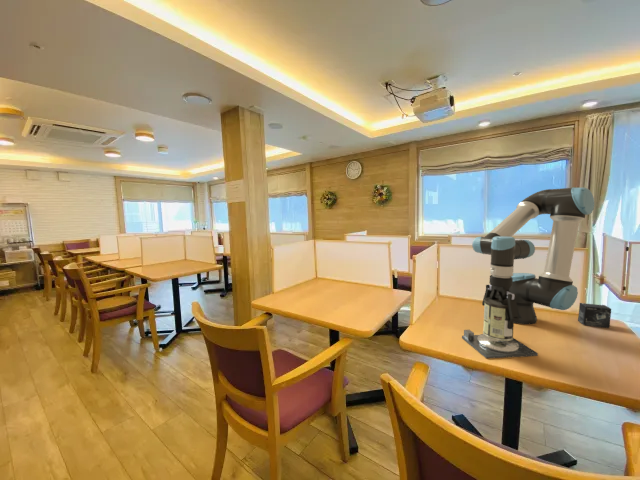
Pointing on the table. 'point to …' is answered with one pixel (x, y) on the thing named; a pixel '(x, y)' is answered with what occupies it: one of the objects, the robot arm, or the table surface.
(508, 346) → the flange plate
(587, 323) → the box
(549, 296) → the robot arm
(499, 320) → the coffee can
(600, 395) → the table surface
